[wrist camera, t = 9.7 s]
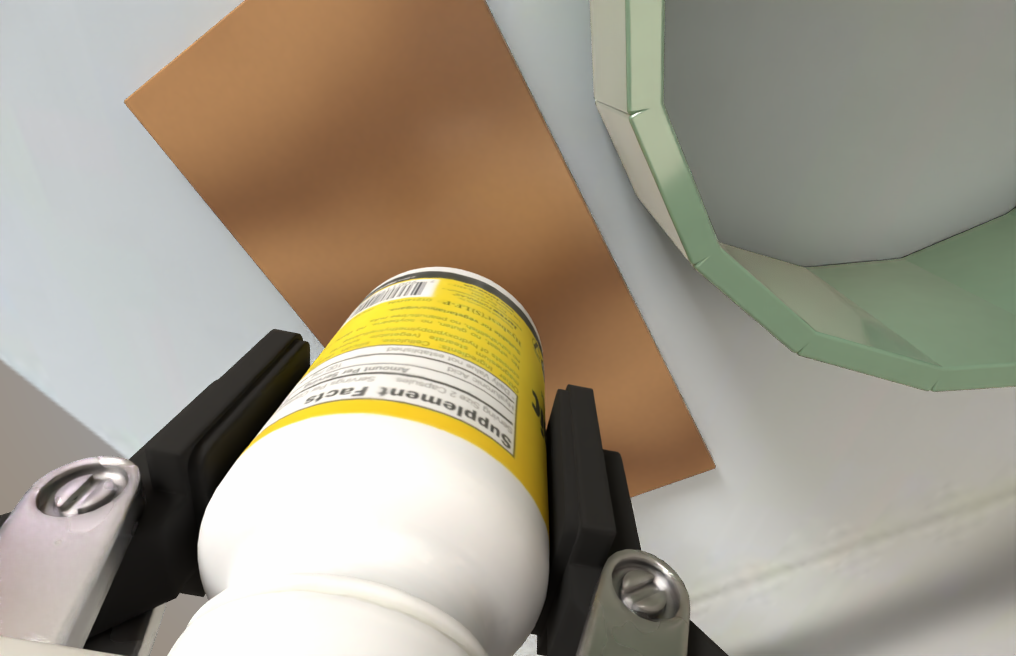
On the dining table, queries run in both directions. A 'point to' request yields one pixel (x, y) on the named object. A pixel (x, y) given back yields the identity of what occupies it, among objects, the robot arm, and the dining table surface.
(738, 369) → the dining table surface
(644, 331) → the wooden board
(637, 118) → the bowl
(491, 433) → the supplement bottle
